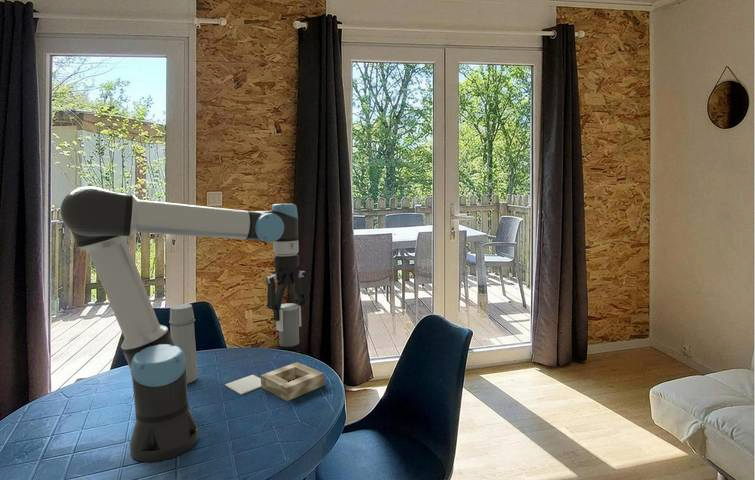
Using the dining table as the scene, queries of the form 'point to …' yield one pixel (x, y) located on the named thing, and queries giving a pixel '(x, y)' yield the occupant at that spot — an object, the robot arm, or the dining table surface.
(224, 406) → the dining table surface
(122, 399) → the dining table surface
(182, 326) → the water bottle
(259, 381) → the pad
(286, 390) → the housing
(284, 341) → the grey domed cylinder
